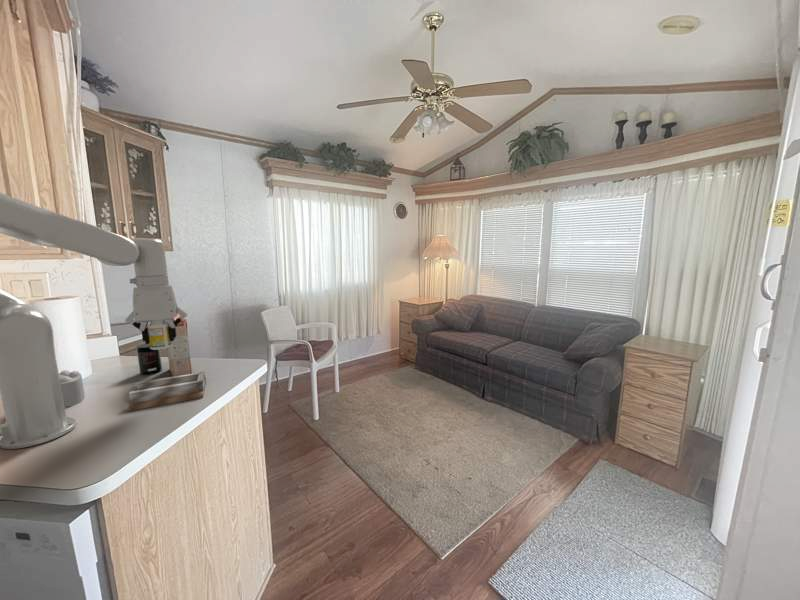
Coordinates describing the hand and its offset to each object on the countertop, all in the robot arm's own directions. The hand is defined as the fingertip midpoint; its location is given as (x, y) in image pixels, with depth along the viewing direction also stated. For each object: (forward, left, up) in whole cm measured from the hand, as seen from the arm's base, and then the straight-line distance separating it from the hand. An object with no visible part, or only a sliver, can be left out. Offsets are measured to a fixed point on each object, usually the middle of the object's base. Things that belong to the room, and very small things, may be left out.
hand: (160, 341), depth 99 cm
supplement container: (-9, +28, -18) cm, 34 cm away
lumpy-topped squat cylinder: (-28, +11, -18) cm, 35 cm away
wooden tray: (+1, 0, -17) cm, 17 cm away
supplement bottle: (0, 0, -2) cm, 2 cm away
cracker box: (+1, +22, -18) cm, 28 cm away
